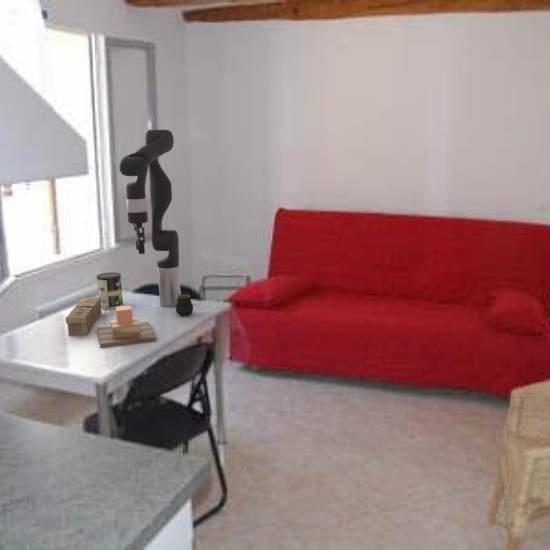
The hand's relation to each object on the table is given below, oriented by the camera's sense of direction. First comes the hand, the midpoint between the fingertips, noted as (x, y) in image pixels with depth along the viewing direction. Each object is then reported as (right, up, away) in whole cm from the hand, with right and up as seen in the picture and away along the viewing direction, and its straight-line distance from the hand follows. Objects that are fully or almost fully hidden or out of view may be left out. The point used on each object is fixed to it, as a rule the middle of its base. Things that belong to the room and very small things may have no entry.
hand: (140, 251), depth 255 cm
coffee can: (-20, -23, +36) cm, 47 cm away
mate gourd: (+15, -26, +20) cm, 36 cm away
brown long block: (-24, -30, +11) cm, 40 cm away
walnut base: (-5, -32, -5) cm, 33 cm away
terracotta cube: (-5, -27, -6) cm, 28 cm away
